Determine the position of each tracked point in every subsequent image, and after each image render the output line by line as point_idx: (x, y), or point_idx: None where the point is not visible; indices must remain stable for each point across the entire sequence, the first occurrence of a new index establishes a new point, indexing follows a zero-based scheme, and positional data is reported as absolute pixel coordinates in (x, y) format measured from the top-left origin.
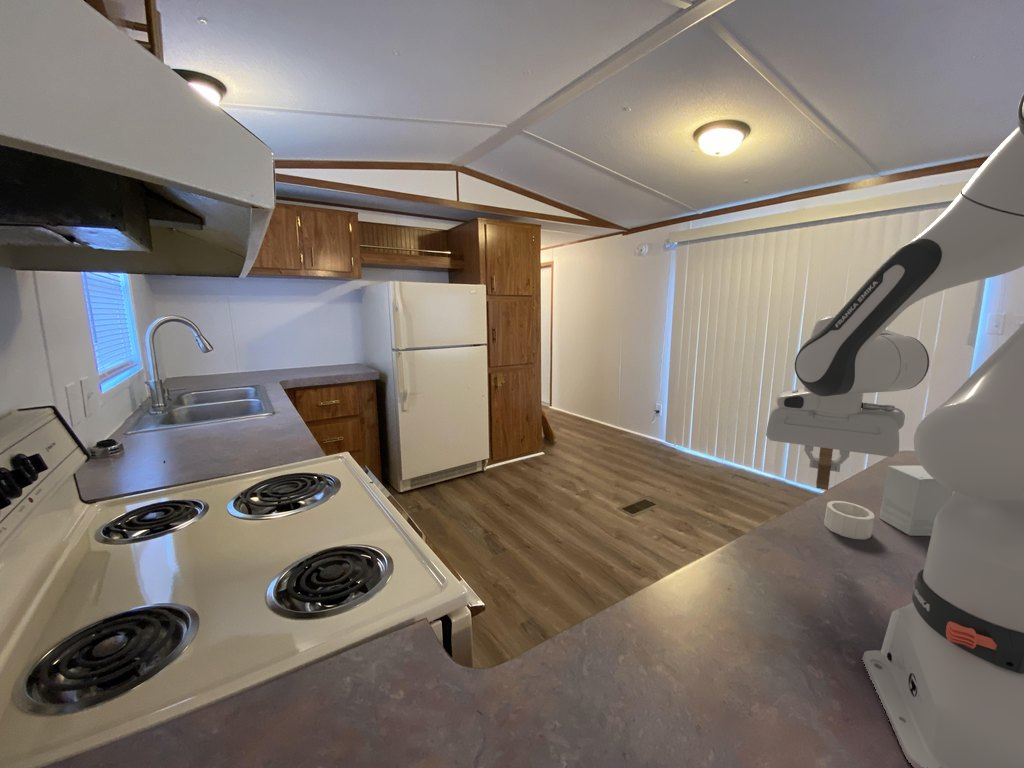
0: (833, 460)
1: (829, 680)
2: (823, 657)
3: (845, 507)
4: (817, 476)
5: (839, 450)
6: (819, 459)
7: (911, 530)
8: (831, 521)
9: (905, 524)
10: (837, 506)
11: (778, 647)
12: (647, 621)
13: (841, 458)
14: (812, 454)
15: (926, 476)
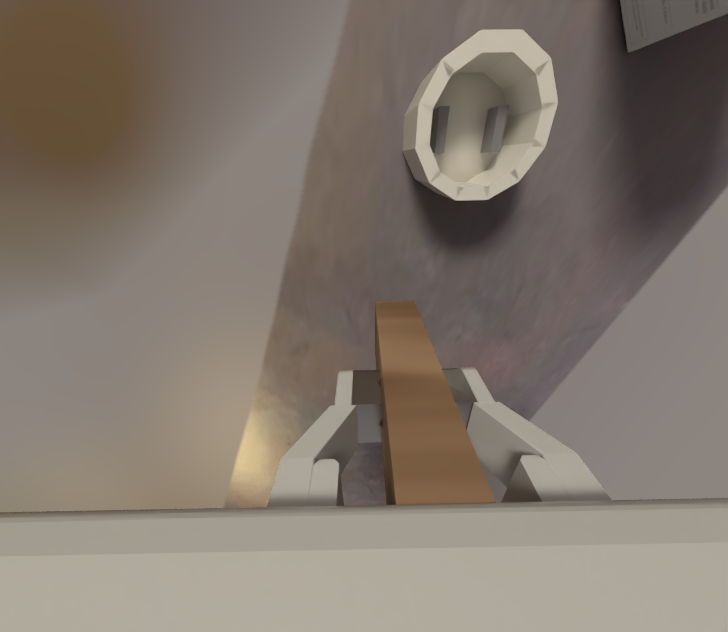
0: (460, 405)
1: (383, 483)
2: (380, 470)
3: (479, 58)
4: (377, 366)
5: (522, 493)
6: (383, 448)
7: (649, 44)
8: (419, 178)
9: (653, 20)
10: (452, 74)
11: (348, 477)
12: (250, 502)
13: (499, 479)
14: (344, 427)
15: None
